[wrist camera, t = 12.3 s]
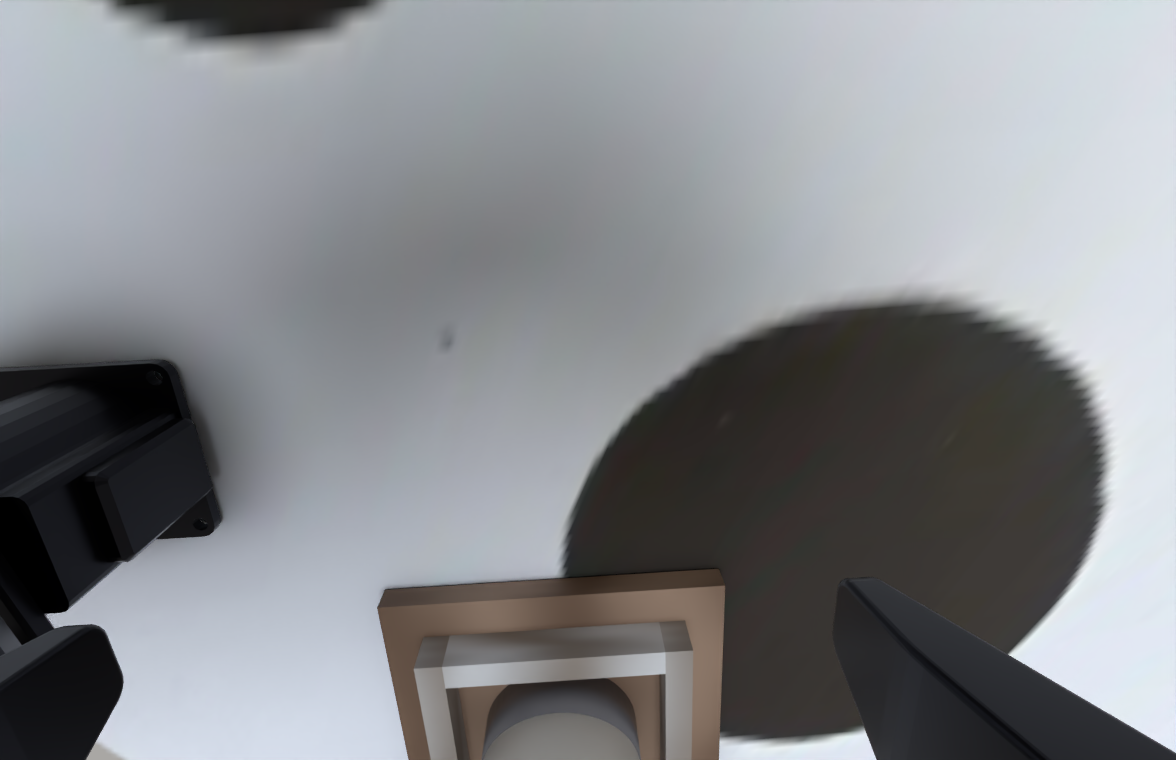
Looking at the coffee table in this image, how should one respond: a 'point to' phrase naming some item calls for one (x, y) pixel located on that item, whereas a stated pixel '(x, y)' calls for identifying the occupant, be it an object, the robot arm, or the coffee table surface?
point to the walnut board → (559, 654)
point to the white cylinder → (562, 722)
